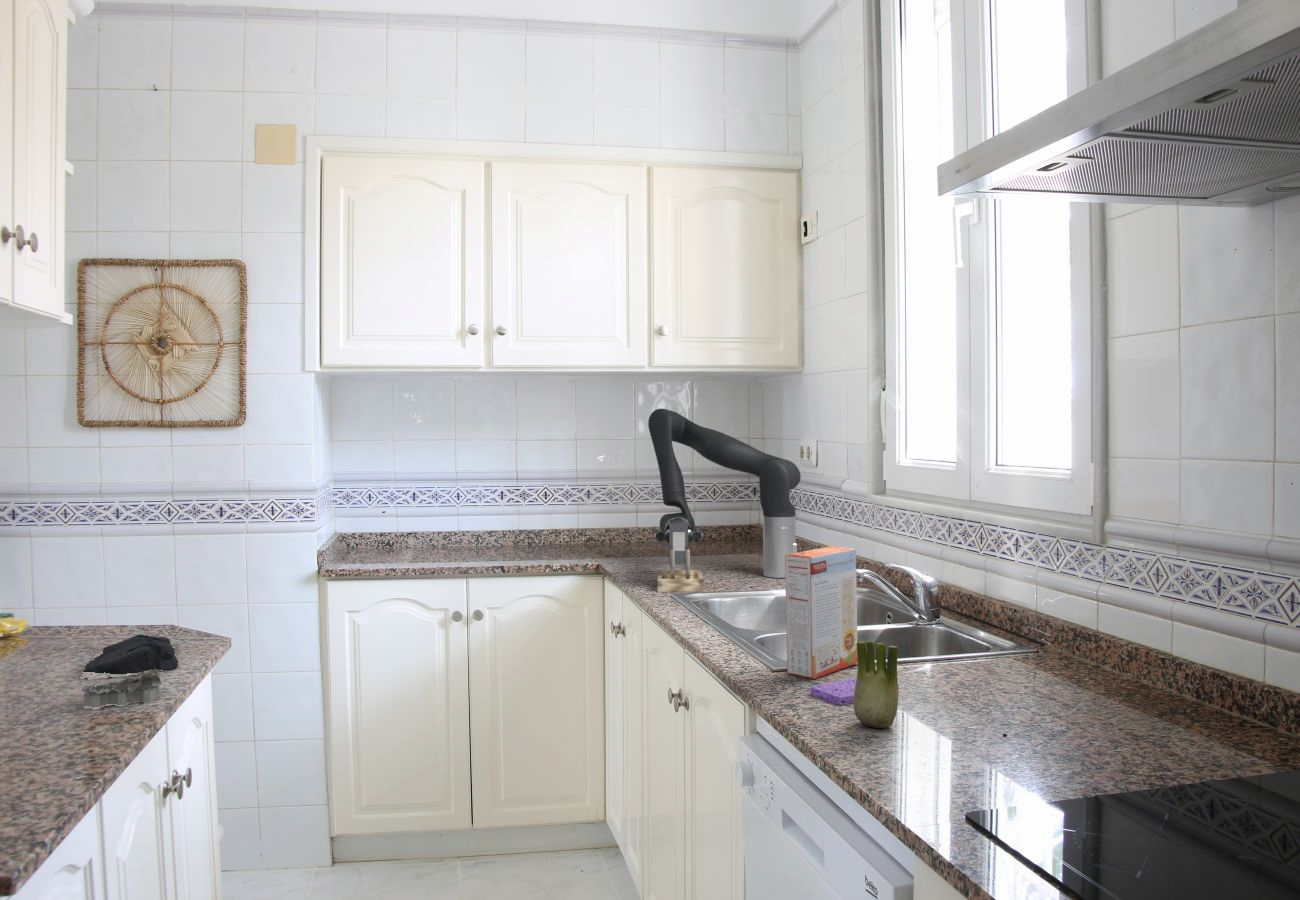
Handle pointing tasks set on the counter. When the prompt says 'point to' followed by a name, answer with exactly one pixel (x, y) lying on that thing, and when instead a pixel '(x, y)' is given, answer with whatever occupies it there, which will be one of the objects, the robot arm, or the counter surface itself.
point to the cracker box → (821, 611)
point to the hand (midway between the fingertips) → (679, 539)
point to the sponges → (836, 691)
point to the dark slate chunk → (135, 656)
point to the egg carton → (124, 690)
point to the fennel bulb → (876, 685)
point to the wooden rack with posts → (679, 577)
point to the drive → (678, 539)
